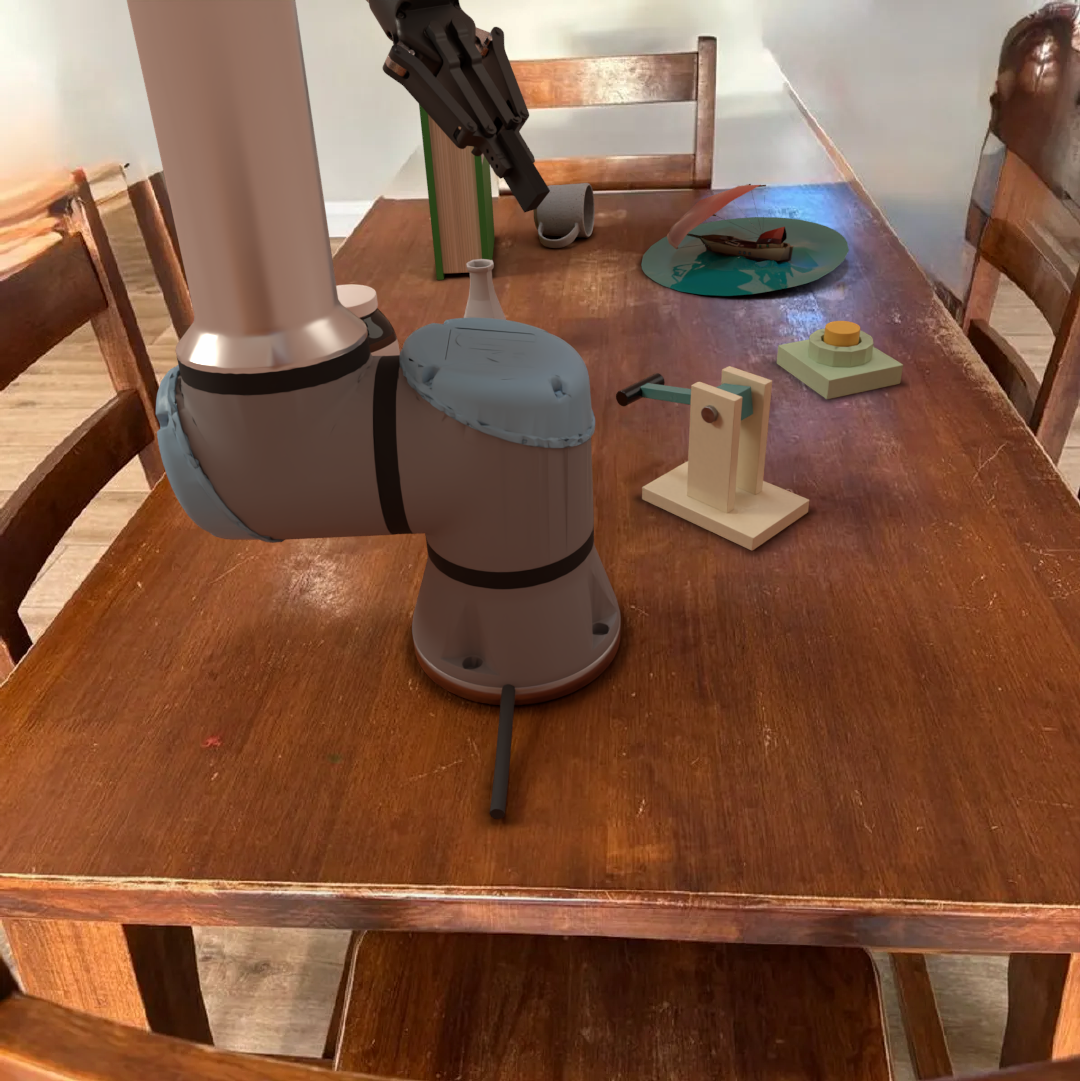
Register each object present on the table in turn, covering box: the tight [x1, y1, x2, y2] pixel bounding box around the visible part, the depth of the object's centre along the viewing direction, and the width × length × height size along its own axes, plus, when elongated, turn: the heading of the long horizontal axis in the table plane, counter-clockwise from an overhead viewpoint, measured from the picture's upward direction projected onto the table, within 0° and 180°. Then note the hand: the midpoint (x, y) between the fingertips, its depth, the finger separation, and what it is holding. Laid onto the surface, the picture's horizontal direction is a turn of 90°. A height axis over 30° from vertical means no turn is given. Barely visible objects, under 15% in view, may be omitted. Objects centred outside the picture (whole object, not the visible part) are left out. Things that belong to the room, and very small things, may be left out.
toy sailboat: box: [640, 183, 850, 297], centre depth 137 cm, size 28×28×11 cm
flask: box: [463, 259, 508, 320], centre depth 118 cm, size 7×7×10 cm
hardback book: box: [418, 103, 496, 281], centre depth 141 cm, size 18×7×24 cm, turn 0°
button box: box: [776, 327, 904, 400], centre depth 109 cm, size 10×9×4 cm
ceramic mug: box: [532, 182, 596, 249], centre depth 151 cm, size 11×8×8 cm
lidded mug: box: [336, 283, 401, 356], centre depth 106 cm, size 12×11×12 cm
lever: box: [615, 372, 753, 421], centre depth 86 cm, size 12×5×2 cm, turn 44°
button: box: [823, 320, 861, 347], centre depth 107 cm, size 4×4×2 cm
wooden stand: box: [641, 365, 810, 552], centre depth 85 cm, size 12×8×12 cm, turn 44°
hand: (537, 201), depth 90 cm, fingers closed
